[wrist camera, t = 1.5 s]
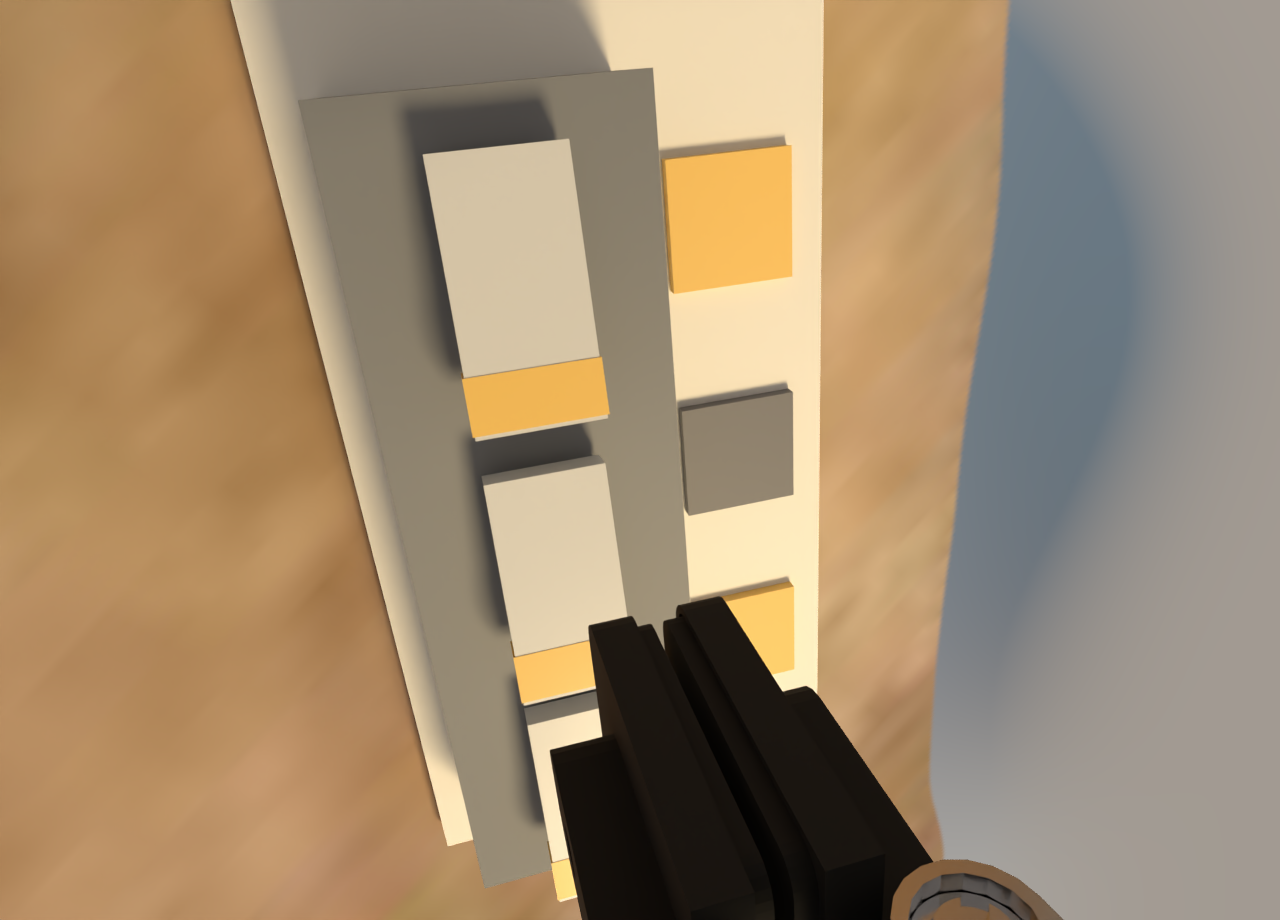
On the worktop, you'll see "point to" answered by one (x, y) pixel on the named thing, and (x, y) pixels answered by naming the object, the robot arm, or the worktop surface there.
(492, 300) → the plate
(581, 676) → the block
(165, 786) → the worktop surface
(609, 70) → the switch unit
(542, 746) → the plate
